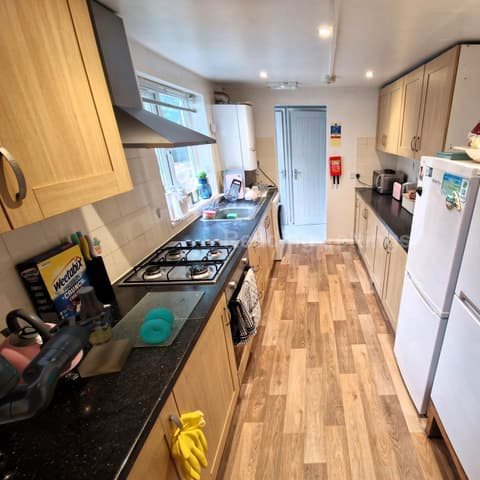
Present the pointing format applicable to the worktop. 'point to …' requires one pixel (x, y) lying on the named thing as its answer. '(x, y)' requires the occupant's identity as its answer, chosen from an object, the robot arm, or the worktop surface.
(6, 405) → the robot arm
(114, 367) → the oak block
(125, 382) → the worktop surface
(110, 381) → the worktop surface
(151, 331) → the donuts
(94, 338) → the sauce bottle
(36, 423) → the worktop surface
